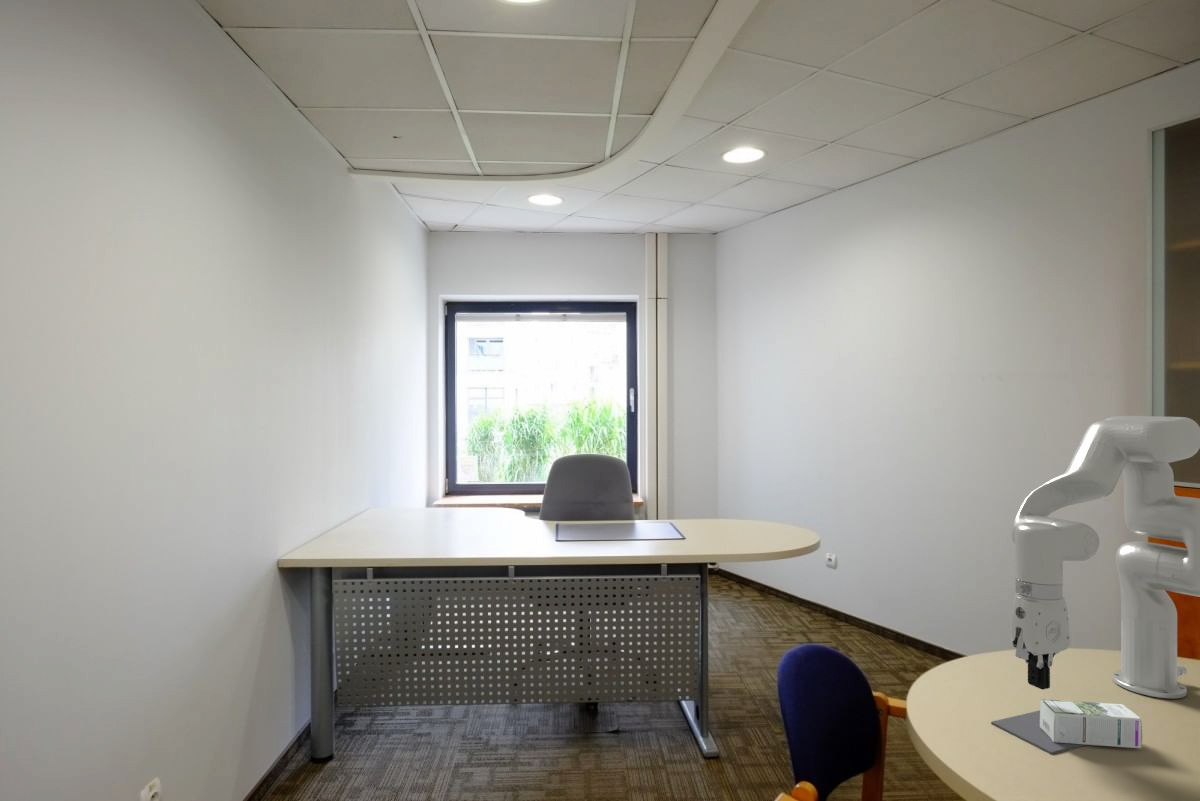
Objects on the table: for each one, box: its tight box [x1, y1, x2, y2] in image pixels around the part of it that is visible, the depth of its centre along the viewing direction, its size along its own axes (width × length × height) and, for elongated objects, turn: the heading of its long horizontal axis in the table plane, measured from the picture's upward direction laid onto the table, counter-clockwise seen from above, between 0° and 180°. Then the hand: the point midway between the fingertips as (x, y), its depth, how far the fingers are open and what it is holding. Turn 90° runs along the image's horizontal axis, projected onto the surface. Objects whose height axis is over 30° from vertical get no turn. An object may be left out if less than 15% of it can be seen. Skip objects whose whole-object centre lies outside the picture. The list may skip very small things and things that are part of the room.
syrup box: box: [1039, 698, 1143, 749], centre depth 124 cm, size 6×6×14 cm
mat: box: [990, 709, 1086, 755], centre depth 128 cm, size 18×12×1 cm, turn 110°
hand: (1038, 685), depth 127 cm, fingers closed
